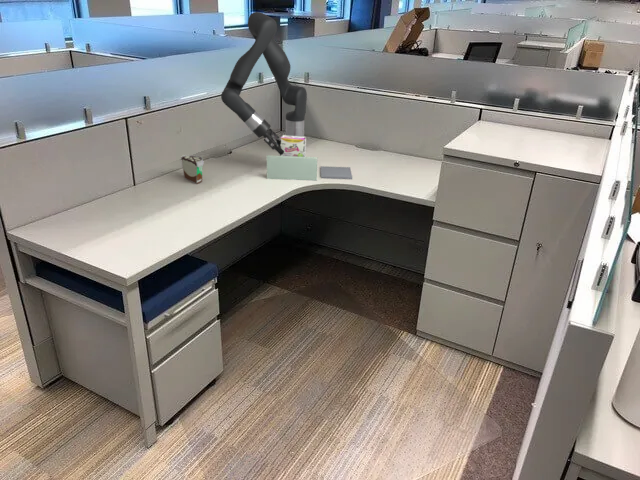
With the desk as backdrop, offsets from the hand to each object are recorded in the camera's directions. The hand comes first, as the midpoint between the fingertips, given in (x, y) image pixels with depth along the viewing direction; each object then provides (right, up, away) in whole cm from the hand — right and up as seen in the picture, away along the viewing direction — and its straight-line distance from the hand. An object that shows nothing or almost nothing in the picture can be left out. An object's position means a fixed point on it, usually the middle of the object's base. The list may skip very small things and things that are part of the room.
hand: (283, 150), depth 227 cm
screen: (+4, -13, -3) cm, 14 cm away
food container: (-37, -14, -9) cm, 41 cm away
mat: (+24, -10, +5) cm, 26 cm away
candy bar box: (+4, -9, +5) cm, 11 cm away
